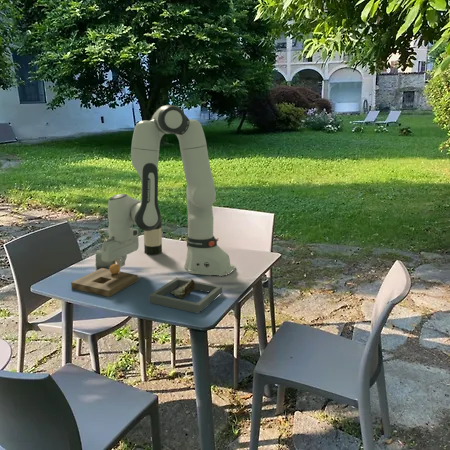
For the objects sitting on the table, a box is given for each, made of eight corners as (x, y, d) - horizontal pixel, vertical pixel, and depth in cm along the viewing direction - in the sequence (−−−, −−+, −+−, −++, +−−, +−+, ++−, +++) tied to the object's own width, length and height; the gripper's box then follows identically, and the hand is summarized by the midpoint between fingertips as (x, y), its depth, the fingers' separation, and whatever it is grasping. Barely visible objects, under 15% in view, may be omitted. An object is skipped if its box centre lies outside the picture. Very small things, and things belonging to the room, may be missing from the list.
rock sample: (173, 278, 173) (184, 269, 167) (189, 290, 174) (200, 282, 168) (161, 298, 166) (172, 289, 160) (177, 310, 167) (189, 302, 161)
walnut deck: (137, 280, 181) (137, 274, 180) (109, 296, 165) (108, 290, 164) (102, 273, 188) (102, 267, 187) (71, 288, 172) (71, 282, 171)
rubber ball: (121, 272, 182) (121, 263, 181) (115, 276, 178) (115, 266, 177) (114, 271, 183) (113, 262, 182) (107, 274, 180) (107, 265, 179)
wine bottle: (145, 249, 220) (143, 189, 212) (162, 249, 221) (160, 189, 213) (144, 255, 212) (142, 193, 204) (161, 254, 213) (160, 192, 205)
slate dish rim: (222, 293, 169) (222, 286, 169) (198, 313, 153) (198, 305, 152) (176, 284, 177) (176, 277, 176) (149, 302, 160) (149, 294, 160)
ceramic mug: (115, 269, 193) (114, 252, 191) (95, 270, 191) (94, 253, 189) (116, 262, 203) (116, 245, 201) (98, 262, 201) (97, 246, 200)
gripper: (109, 241, 171) (111, 275, 174) (140, 229, 189) (141, 260, 192) (96, 239, 173) (98, 272, 177) (128, 227, 191) (129, 258, 195)
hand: (121, 266), depth 184 cm, fingers closed
